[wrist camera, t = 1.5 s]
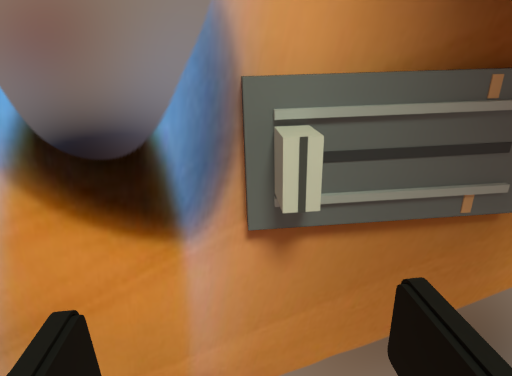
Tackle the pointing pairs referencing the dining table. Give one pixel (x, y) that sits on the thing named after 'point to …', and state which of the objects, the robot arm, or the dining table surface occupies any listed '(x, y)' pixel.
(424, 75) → the fader board
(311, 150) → the fader cap
